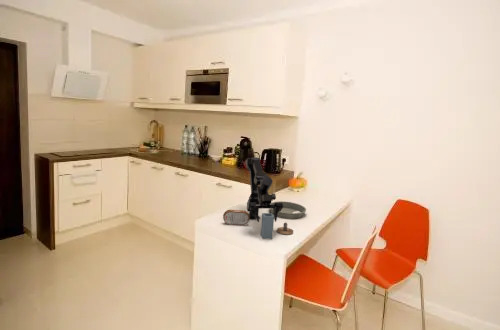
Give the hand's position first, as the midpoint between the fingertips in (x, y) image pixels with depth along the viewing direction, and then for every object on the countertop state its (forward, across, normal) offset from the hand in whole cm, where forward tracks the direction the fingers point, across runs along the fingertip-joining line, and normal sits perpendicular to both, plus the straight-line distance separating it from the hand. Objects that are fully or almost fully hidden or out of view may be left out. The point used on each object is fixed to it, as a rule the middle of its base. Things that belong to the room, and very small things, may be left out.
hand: (267, 221), depth 149 cm
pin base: (+2, +12, +10) cm, 16 cm away
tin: (-6, -13, +18) cm, 23 cm away
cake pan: (-20, +24, +32) cm, 45 cm away
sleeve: (+6, 0, +6) cm, 8 cm away
